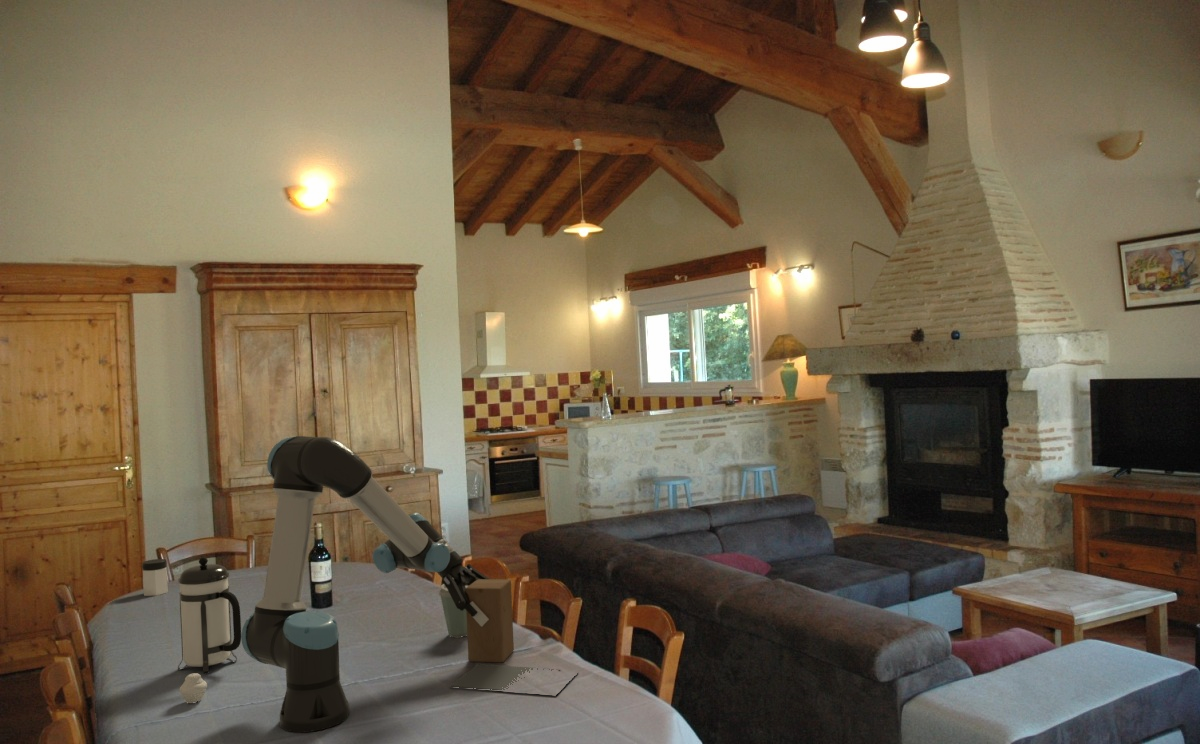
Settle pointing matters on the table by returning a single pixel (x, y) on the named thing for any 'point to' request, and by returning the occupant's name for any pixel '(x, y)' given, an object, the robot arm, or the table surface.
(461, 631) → the disposable coffee cup
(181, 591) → the coffee press
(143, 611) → the table surface
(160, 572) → the jar
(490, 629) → the wooden block
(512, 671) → the mat
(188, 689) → the beige rounded lump
